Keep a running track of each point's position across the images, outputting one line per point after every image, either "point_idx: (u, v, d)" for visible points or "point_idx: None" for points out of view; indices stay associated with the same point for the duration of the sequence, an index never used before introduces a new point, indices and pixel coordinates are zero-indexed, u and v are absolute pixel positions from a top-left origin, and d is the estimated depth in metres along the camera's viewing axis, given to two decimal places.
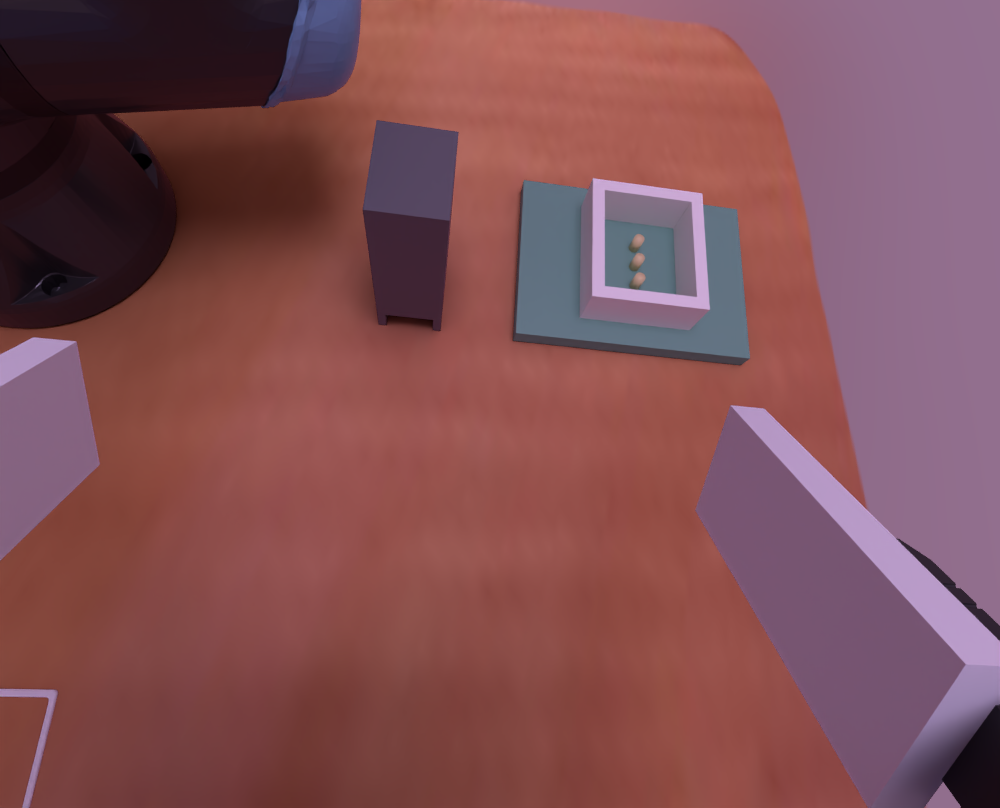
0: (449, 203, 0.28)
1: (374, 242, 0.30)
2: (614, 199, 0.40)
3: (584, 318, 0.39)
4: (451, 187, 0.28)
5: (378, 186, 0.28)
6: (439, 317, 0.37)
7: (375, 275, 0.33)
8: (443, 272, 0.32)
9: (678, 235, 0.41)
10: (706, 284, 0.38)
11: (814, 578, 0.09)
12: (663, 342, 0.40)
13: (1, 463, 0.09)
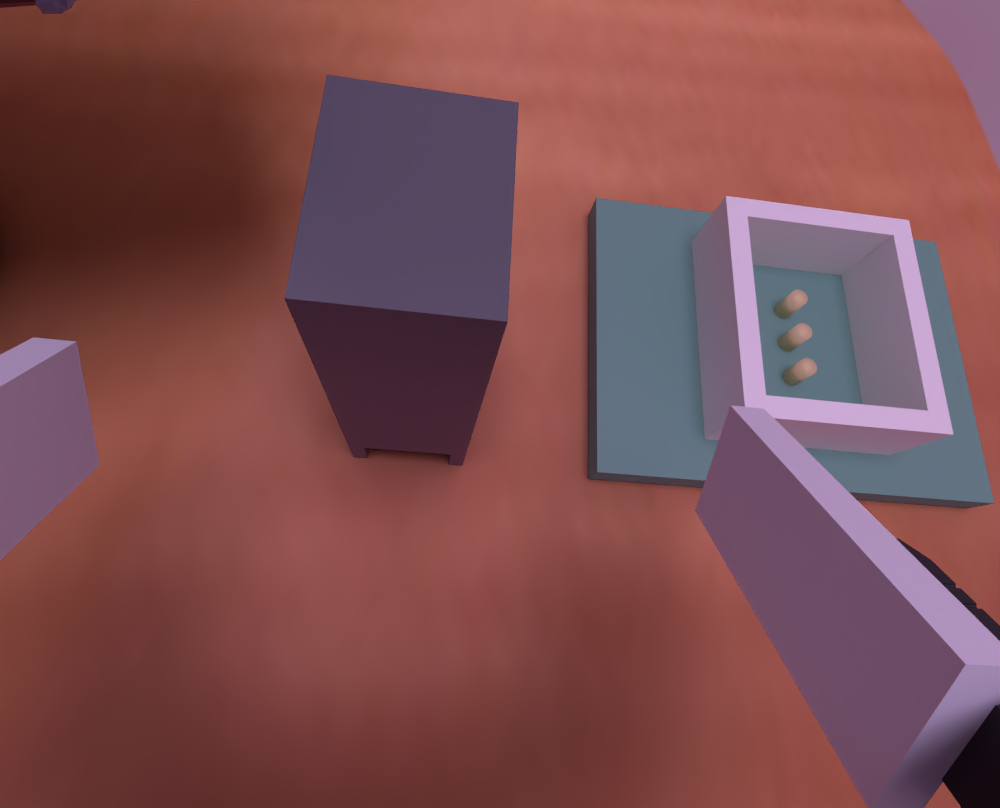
0: (504, 276, 0.11)
1: (325, 356, 0.13)
2: (760, 231, 0.23)
3: (713, 440, 0.23)
4: (508, 235, 0.12)
5: (327, 236, 0.11)
6: (462, 452, 0.20)
7: (337, 403, 0.16)
8: (478, 402, 0.15)
9: (857, 289, 0.25)
10: (940, 386, 0.21)
11: (814, 578, 0.09)
12: (849, 479, 0.23)
13: (1, 463, 0.09)
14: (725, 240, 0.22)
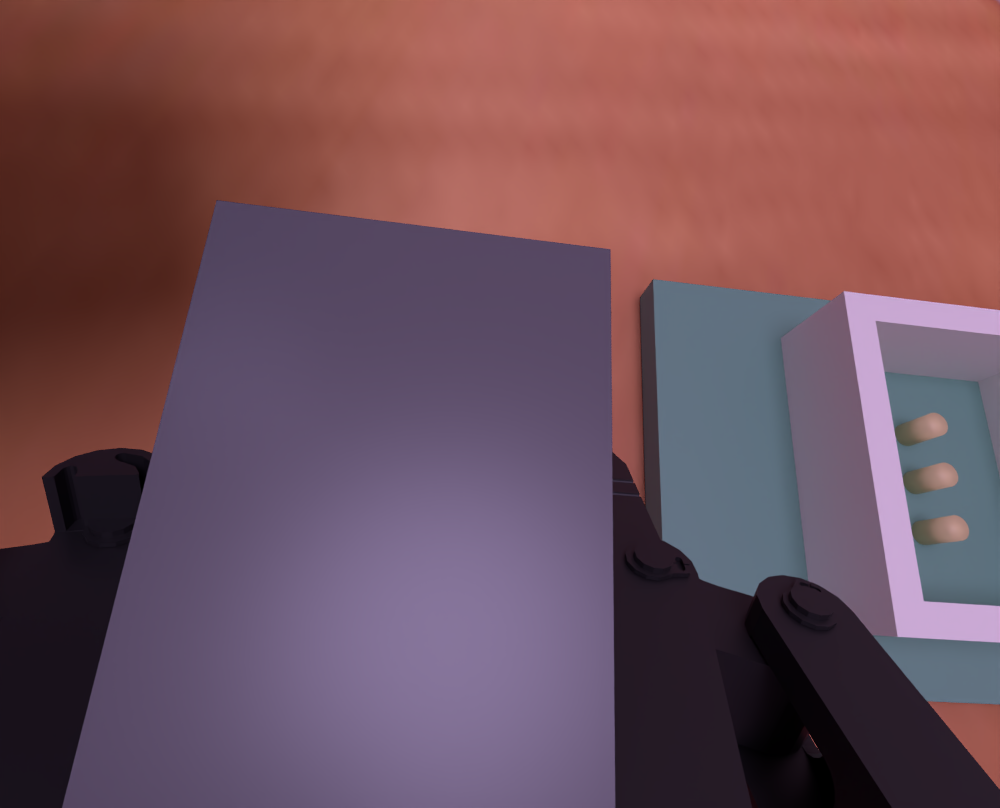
0: (603, 690, 0.05)
1: None
2: (886, 336, 0.17)
3: None
4: (604, 574, 0.05)
5: (188, 616, 0.05)
6: None
7: None
8: None
9: None
10: None
11: None
12: None
13: None
14: (845, 355, 0.16)
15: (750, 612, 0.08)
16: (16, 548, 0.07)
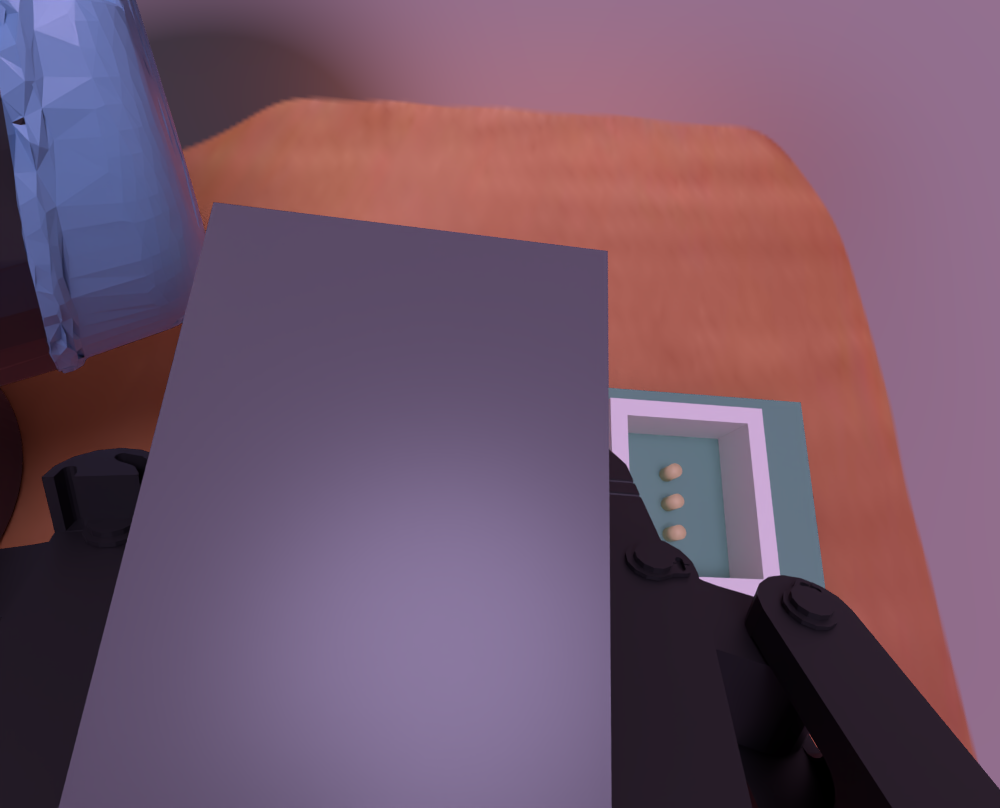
0: (599, 693, 0.05)
1: None
2: (640, 420, 0.29)
3: None
4: (601, 577, 0.05)
5: (184, 618, 0.05)
6: None
7: None
8: None
9: (727, 456, 0.30)
10: (775, 557, 0.27)
11: None
12: None
13: None
14: (609, 435, 0.28)
15: (750, 612, 0.08)
16: (16, 548, 0.07)
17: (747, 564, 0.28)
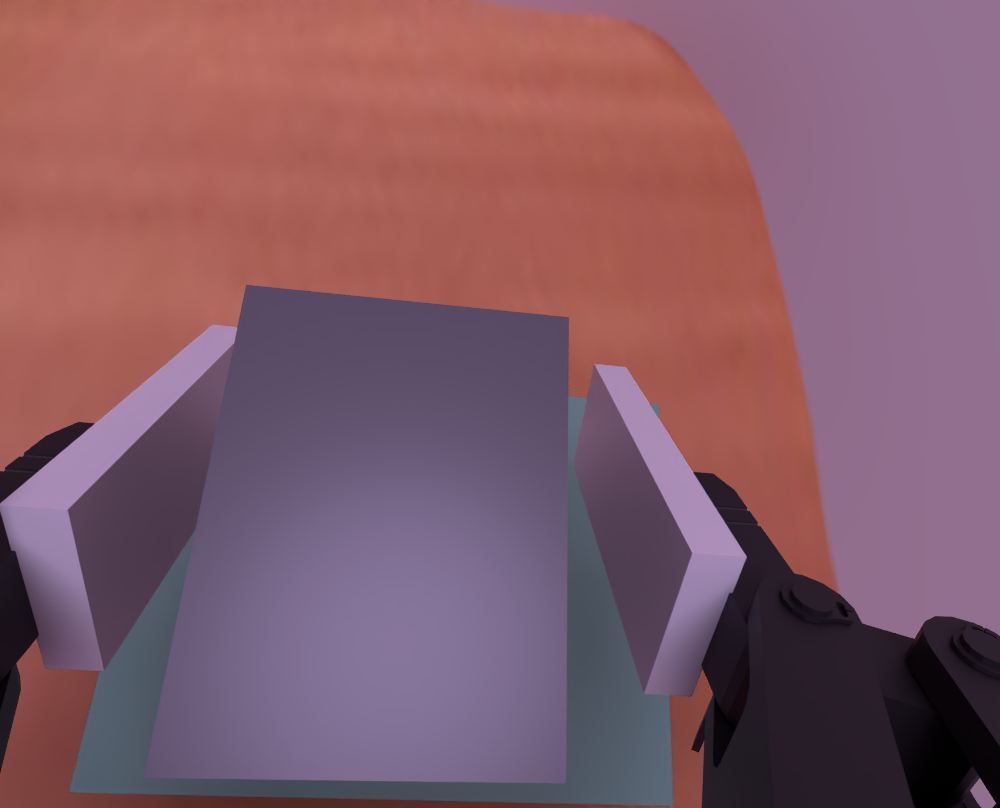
0: (558, 677, 0.06)
1: None
2: None
3: None
4: (560, 586, 0.07)
5: (235, 622, 0.06)
6: None
7: None
8: None
9: None
10: None
11: (627, 505, 0.10)
12: None
13: (210, 429, 0.11)
14: None
15: (913, 650, 0.07)
16: None
17: None
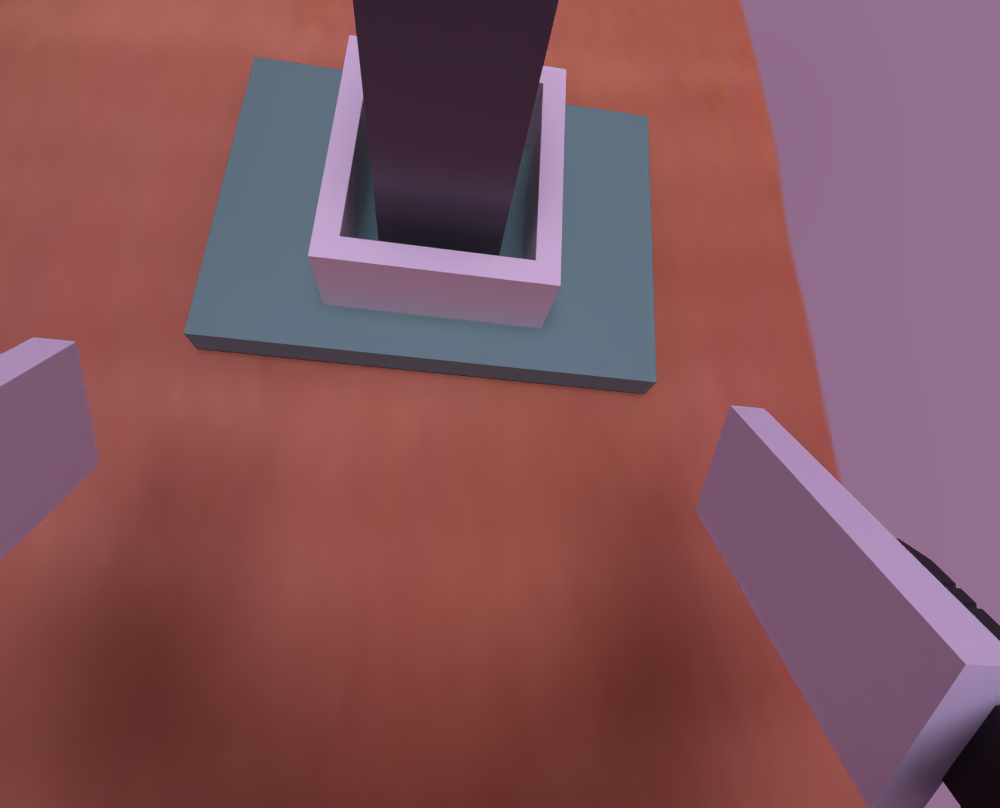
0: None
1: (372, 23, 0.12)
2: None
3: (333, 305, 0.20)
4: None
5: None
6: (496, 248, 0.20)
7: (375, 139, 0.15)
8: (525, 124, 0.15)
9: (530, 154, 0.23)
10: (558, 236, 0.19)
11: (814, 578, 0.09)
12: (487, 351, 0.21)
13: (1, 463, 0.09)
14: None
15: None
16: None
17: None
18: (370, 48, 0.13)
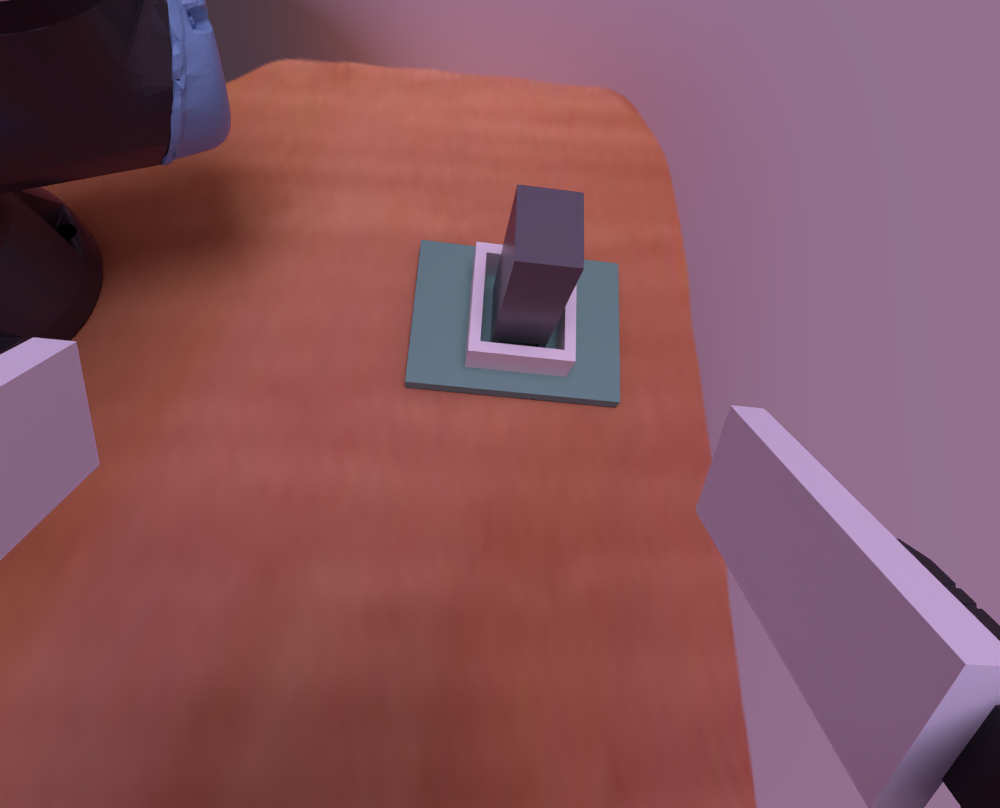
0: (582, 254, 0.34)
1: (513, 284, 0.36)
2: (497, 259, 0.44)
3: (469, 367, 0.44)
4: (582, 240, 0.34)
5: (524, 241, 0.34)
6: (546, 342, 0.43)
7: (503, 309, 0.39)
8: (563, 307, 0.38)
9: None
10: (574, 338, 0.42)
11: (814, 578, 0.09)
12: (540, 388, 0.44)
13: (1, 463, 0.09)
14: (474, 264, 0.43)
15: None
16: None
17: (560, 348, 0.43)
18: (510, 289, 0.36)
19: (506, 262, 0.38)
